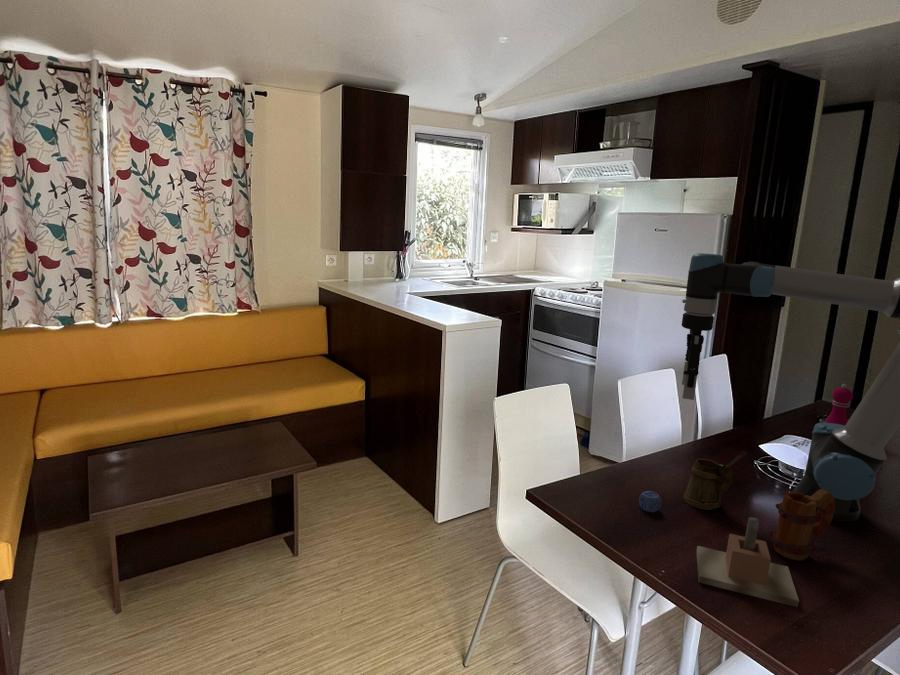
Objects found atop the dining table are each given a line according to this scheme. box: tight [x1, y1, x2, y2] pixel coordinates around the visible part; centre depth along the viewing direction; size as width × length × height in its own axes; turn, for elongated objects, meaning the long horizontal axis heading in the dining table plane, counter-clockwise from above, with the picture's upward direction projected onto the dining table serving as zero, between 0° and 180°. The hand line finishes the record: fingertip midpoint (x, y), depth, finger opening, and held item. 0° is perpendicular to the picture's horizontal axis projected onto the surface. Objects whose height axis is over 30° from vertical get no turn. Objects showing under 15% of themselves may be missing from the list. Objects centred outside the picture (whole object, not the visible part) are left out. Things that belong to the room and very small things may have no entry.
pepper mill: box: [824, 383, 854, 425], centre depth 201 cm, size 7×7×20 cm
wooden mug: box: [682, 450, 747, 511], centre depth 147 cm, size 9×14×18 cm, turn 41°
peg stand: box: [696, 516, 800, 608], centre depth 118 cm, size 18×12×14 cm, turn 69°
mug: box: [769, 489, 835, 561], centre depth 128 cm, size 15×8×15 cm, turn 106°
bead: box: [725, 533, 772, 586], centre depth 118 cm, size 7×7×6 cm
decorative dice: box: [638, 490, 662, 513], centre depth 146 cm, size 4×4×4 cm
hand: (687, 391), depth 151 cm, fingers open, 13 cm apart
